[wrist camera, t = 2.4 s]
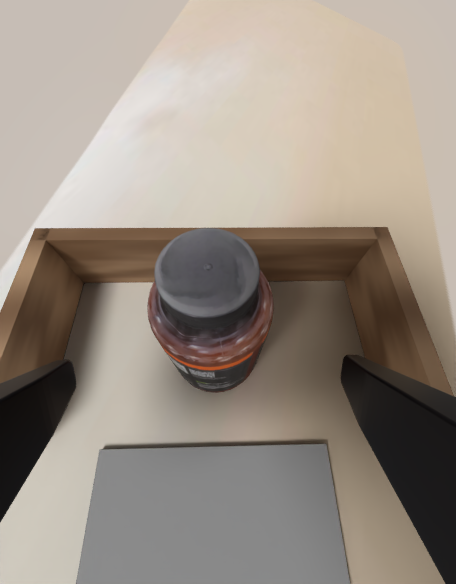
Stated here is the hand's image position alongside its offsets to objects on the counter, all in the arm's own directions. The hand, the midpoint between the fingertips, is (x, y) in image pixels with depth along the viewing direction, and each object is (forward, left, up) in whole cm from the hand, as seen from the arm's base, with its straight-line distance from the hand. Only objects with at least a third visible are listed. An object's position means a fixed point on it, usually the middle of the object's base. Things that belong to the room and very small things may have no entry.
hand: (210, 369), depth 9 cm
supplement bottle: (+4, 0, -11) cm, 11 cm away
